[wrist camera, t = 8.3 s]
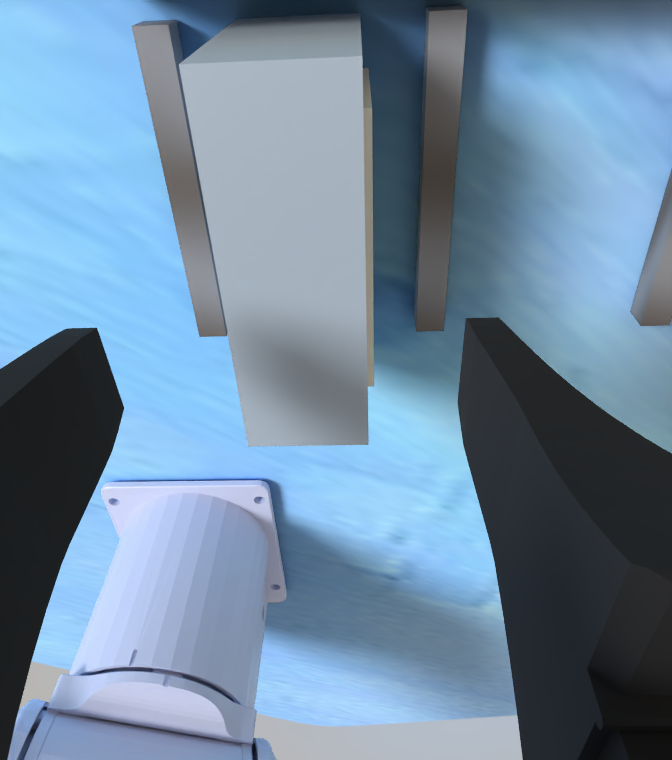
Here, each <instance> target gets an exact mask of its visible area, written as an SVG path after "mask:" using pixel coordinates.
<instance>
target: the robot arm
mask: <svg viewBox="0 0 672 760" xmlns="http://www.w3.org/2000/svg"><path fill="white" fill-rule="evenodd" d="M458 408H459V416H460V423H461V431H462V438H463V444H464V449H465V452H466V456H467V460H468V464H469V467H470V471H471V475H472V478H473V482H474V485H475V489H476V493H477V496H478V500H479V503H480V507H481V511H482V514H483V518H484V522H485V525H486V529H487V532H488V536H489V540H490V544H491V548H492V553H493V557H494V561H495V567H496V573H497V579H498V585H499V591H500V597H501V604H502V610H503V616H504V623H505V630H506V636H507V643H508V650H509V656H510V663H511V671H512V678H513V686H514V693H515V700H516V708H517V715H518V723H519V731H520V740H521V748H522V756H523V760H672V453H670V452H668V451H666V450H664V449H663V448H661V447H659V446H658V445H656V444H654V443H652V442H651V441H649V440H647V439H646V438H644V437H643V436H641V435H639V434H638V433H636V432H635V431H633V430H632V429H630V428H629V427H627V426H626V425H624V424H623V423H621V422H620V421H618V420H617V419H615V418H614V417H612V416H611V415H609V414H608V413H607V412H605V411H604V410H602V409H601V408H600V407H598V406H597V405H596V404H594V403H593V402H592V401H591V400H589V399H588V398H587V397H585V396H584V395H583V394H582V393H580V392H579V391H578V390H576V389H575V388H574V387H573V386H572V385H570V384H569V383H568V382H567V381H566V380H564V379H563V378H562V377H561V376H560V375H559V374H557V373H556V372H555V371H554V370H553V369H552V368H551V367H550V366H548V365H547V364H546V363H545V362H544V361H543V360H542V359H541V358H540V357H539V356H538V355H537V354H535V353H534V352H533V351H532V350H531V349H530V348H529V347H528V346H527V345H526V344H525V343H524V342H523V341H522V340H521V339H520V338H519V337H518V336H517V335H516V334H515V333H514V332H513V331H512V330H511V329H510V328H509V327H508V326H507V325H506V324H505V323H504V322H503V321H502V320H500V319H499V318H466V323H465V334H464V344H463V354H462V364H461V374H460V384H459V394H458ZM123 410H124V406H123V403H122V400H121V397H120V395H119V392H118V389H117V386H116V383H115V380H114V377H113V374H112V371H111V368H110V365H109V362H108V359H107V356H106V353H105V350H104V347H103V344H102V342H101V339H100V336H99V333H98V330H97V328H72V329H65V330H63V331H61V332H59V333H57V334H55V335H54V336H52V337H50V338H48V339H47V340H45V341H43V342H42V343H40V344H39V345H37V346H35V347H34V348H32V349H31V350H29V351H28V352H26V353H25V354H23V355H22V356H20V357H18V358H17V359H15V360H14V361H12V362H11V363H9V364H8V365H6V366H5V367H3V368H1V369H0V760H277V759H276V757H275V756H274V754H273V752H272V748H271V746H270V744H269V742H268V741H267V740H265V739H263V738H253V736H254V728H255V721H256V713H257V711H256V709H254V704H255V699H256V692H257V684H258V676H259V668H260V661H261V653H262V645H263V638H264V630H265V622H266V614H267V607H268V603H278V602H283V601H285V600H286V596H287V590H286V584H285V578H284V572H283V566H282V560H281V554H280V548H279V541H278V535H277V529H276V523H275V517H274V511H273V505H272V499H271V493H270V487H269V485H268V484H267V483H266V482H264V481H261V480H233V481H154V482H108V483H106V484H104V486H103V488H102V490H101V495H102V497H103V500H104V502H105V505H106V507H107V509H108V512H109V514H110V517H111V519H112V521H113V524H114V526H115V529H116V531H117V533H118V536H119V538H120V542H119V544H118V547H117V550H116V552H115V555H114V557H113V560H112V563H111V565H110V568H109V570H108V573H107V576H106V578H105V581H104V583H103V586H102V589H101V591H100V594H99V597H98V599H97V602H96V604H95V607H94V610H93V612H92V615H91V617H90V620H89V623H88V625H87V628H86V630H85V633H84V636H83V638H82V641H81V644H80V646H79V649H78V651H77V654H76V657H75V659H74V662H73V664H72V667H71V670H70V672H69V674H62V675H60V677H59V680H58V682H57V685H56V687H55V690H54V692H53V695H52V697H51V700H50V702H49V703H48V702H46V701H42V700H39V699H32V700H30V701H29V702H28V703H27V704H26V705H25V706H24V707H23V708H21V709H19V706H20V703H21V699H22V695H23V691H24V687H25V683H26V679H27V676H28V672H29V668H30V663H31V660H32V657H33V653H34V650H35V646H36V643H37V640H38V636H39V633H40V630H41V626H42V623H43V619H44V616H45V613H46V609H47V606H48V603H49V600H50V597H51V594H52V591H53V588H54V585H55V582H56V579H57V576H58V573H59V570H60V567H61V564H62V562H63V559H64V557H65V554H66V552H67V549H68V547H69V544H70V542H71V540H72V538H73V536H74V533H75V531H76V529H77V527H78V525H79V523H80V520H81V518H82V516H83V514H84V512H85V510H86V507H87V505H88V503H89V501H90V499H91V497H92V494H93V492H94V490H95V488H96V486H97V484H98V481H99V479H100V477H101V475H102V473H103V470H104V468H105V466H106V464H107V461H108V459H109V457H110V454H111V452H112V449H113V446H114V443H115V440H116V436H117V433H118V429H119V426H120V422H121V418H122V414H123ZM259 497H262V498H259Z"/></svg>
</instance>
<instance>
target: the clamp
mask: <svg viewBox="0 0 672 760" xmlns="http://www.w3.org/2000/svg"><path fill="white" fill-rule="evenodd" d="M467 12H468V9H467V8H465V7H464V6H463V5H458V6H438V7H426V17H425V44H424V70H423V96H422V122H421V148H420V175H419V201H418V227H417V253H416V279H415V306H414V320H415V327H416V331H444V321H445V308H446V294H447V281H448V267H449V254H450V240H451V227H452V214H453V200H454V187H455V173H456V160H457V146H458V133H459V119H460V106H461V93H462V79H463V66H464V52H465V39H466V25H467ZM132 30H133V35H134V39H135V44H136V48H137V53H138V57H139V62H140V67H141V71H142V76H143V80H144V85H145V89H146V94H147V98H148V103H149V108H150V112H151V117H152V121H153V126H154V130H155V135H156V140H157V144H158V149H159V153H160V158H161V162H162V167H163V171H164V176H165V181H166V185H167V190H168V194H169V199H170V203H171V208H172V213H173V217H174V222H175V226H176V231H177V235H178V240H179V244H180V249H181V254H182V258H183V263H184V267H185V272H186V276H187V281H188V286H189V290H190V295H191V299H192V304H193V308H194V313H195V317H196V322H197V327H198V331H199V336H200V337H208V336H227V327H226V321H225V316H224V310H223V305H222V299H221V294H220V288H219V283H218V277H217V272H216V266H215V261H214V255H213V250H212V244H211V239H210V234H209V228H208V223H207V217H206V212H205V206H204V201H203V195H202V190H201V184H200V179H199V173H198V168H197V162H196V157H195V151H194V146H193V140H192V135H191V129H190V124H189V118H188V113H187V107H186V102H185V96H184V91H183V85H182V80H181V74H180V69H179V64H180V63H181V62H182V61H184V57H183V51H182V45H181V40H180V34H179V29H178V23H177V20H164V21H144V22H140V23H138V24H136V25H134V26H132ZM630 312H631V313H632V315H633V316H634V317H635V319H636V320H637V322H638V323H639V324H640V326H656V325H669V324H670V321H671V318H672V170H671V174H670V177H669V180H668V184H667V187H666V191H665V194H664V198H663V201H662V205H661V208H660V211H659V215H658V218H657V222H656V225H655V229H654V232H653V235H652V239H651V242H650V246H649V249H648V253H647V256H646V260H645V263H644V266H643V270H642V273H641V277H640V280H639V284H638V287H637V290H636V294H635V297H634V301H633V304H632V308H631V311H630Z"/></svg>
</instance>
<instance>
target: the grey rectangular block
mask: <svg viewBox="0 0 672 760" xmlns="http://www.w3.org/2000/svg"><path fill="white" fill-rule="evenodd" d="M179 69H180V74H181V80H182V85H183V91H184V96H185V102H186V107H187V113H188V118H189V124H190V129H191V135H192V140H193V146H194V151H195V157H196V162H197V168H198V173H199V179H200V184H201V190H202V195H203V201H204V206H205V212H206V217H207V223H208V228H209V234H210V239H211V244H212V250H213V255H214V261H215V266H216V272H217V277H218V283H219V288H220V294H221V299H222V305H223V310H224V316H225V321H226V327H227V332H228V338H229V343H230V349H231V354H232V360H233V365H234V371H235V376H236V382H237V387H238V393H239V398H240V404H241V409H242V415H243V420H244V426H245V431H246V437H247V442H248V446H310V445H368V387H367V386H374V305H373V160H372V101H371V90H370V80H369V69H368V68H363V59H362V39H361V20H360V13H347V14H326V15H305V16H284V17H264V18H243V19H235V20H234V21H233V22H232V23H230V24H229V25H228V26H227V27H225V28H224V29H223V30H221V31H220V32H219V33H218V34H216V35H215V36H214V37H213V38H211V39H210V40H209V41H208V42H206V43H205V44H204V45H203V46H201V47H200V48H199V49H197V50H196V51H195V52H194V53H192V54H191V55H190V56H189V57H187V58H186V59H185V60H184V61H182V62H181V63H180V64H179Z"/></svg>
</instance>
